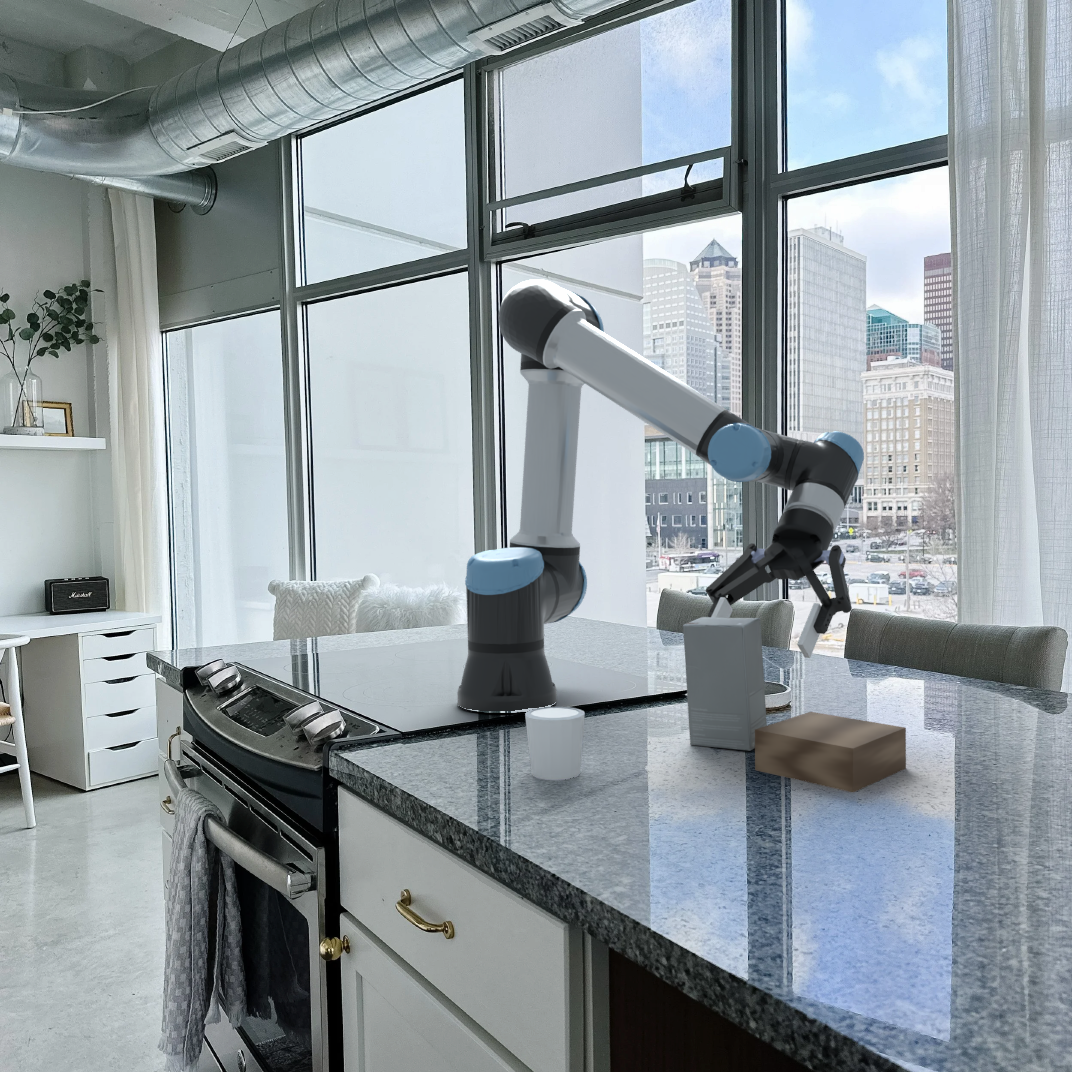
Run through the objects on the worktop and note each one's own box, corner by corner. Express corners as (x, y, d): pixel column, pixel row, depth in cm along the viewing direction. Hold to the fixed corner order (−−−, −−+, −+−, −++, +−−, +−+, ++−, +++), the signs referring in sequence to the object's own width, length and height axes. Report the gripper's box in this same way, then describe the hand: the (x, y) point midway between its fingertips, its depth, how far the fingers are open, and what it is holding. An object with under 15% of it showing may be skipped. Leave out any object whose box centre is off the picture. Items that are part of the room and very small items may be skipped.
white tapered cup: (581, 783, 105) (579, 720, 104) (520, 780, 106) (518, 718, 106) (590, 765, 111) (589, 706, 111) (532, 763, 113) (531, 704, 112)
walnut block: (755, 773, 108) (754, 729, 108) (810, 752, 117) (810, 711, 116) (853, 795, 100) (852, 748, 99) (906, 771, 108) (905, 727, 108)
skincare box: (768, 741, 121) (766, 616, 120) (748, 754, 115) (747, 624, 114) (705, 733, 125) (703, 613, 124) (683, 746, 119) (681, 620, 118)
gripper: (905, 543, 126) (857, 674, 115) (739, 540, 143) (684, 654, 132) (888, 504, 122) (837, 636, 111) (719, 506, 139) (661, 621, 128)
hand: (754, 646), depth 122 cm, fingers open, 13 cm apart
